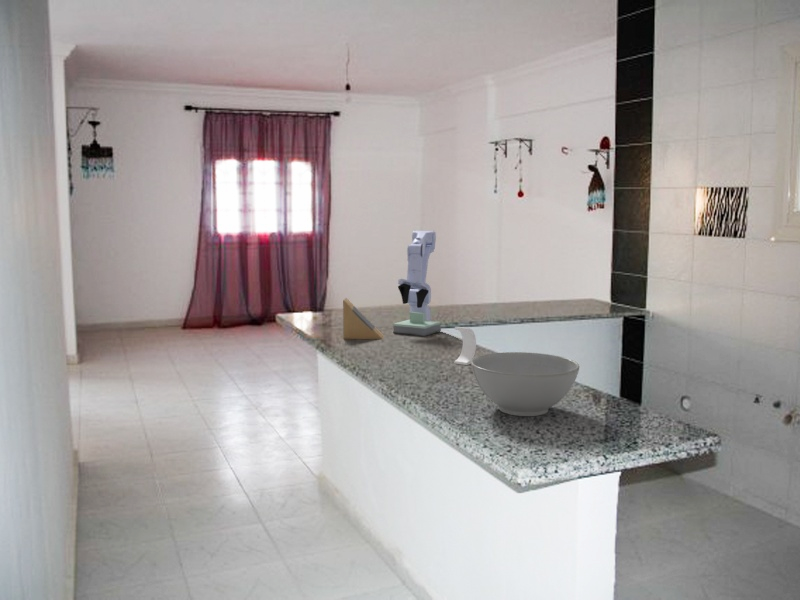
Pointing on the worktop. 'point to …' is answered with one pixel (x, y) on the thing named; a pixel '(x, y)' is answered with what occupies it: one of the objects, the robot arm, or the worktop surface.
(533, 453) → the worktop surface
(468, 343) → the headphone stand
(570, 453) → the worktop surface
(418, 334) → the tub
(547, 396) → the decorative bowl
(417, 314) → the lid
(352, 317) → the sandwich container
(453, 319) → the worktop surface
